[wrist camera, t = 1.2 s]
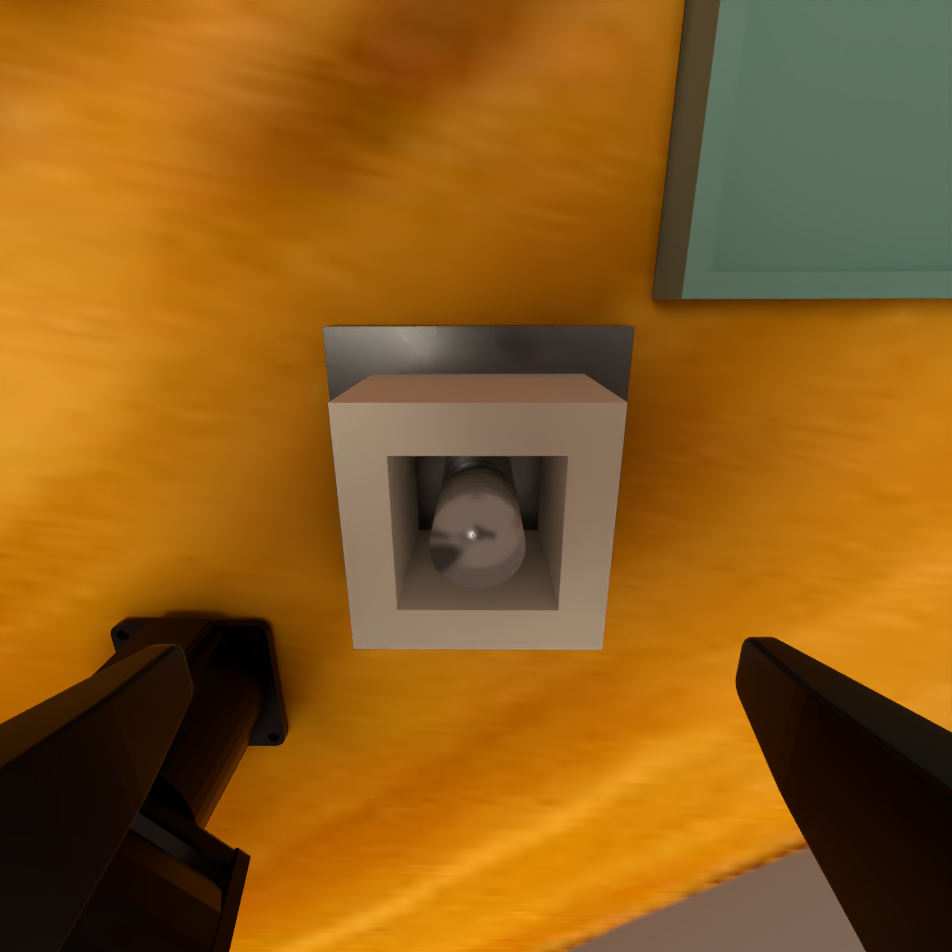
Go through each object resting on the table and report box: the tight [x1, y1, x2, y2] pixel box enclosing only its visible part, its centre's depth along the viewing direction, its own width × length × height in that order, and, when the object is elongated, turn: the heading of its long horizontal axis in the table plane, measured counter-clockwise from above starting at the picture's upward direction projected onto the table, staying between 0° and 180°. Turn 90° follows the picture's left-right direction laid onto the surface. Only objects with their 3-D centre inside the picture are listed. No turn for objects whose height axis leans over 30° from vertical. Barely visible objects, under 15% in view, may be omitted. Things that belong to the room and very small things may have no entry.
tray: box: [652, 0, 952, 300], centre depth 13 cm, size 12×12×2 cm
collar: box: [328, 374, 627, 650], centre depth 15 cm, size 7×7×5 cm
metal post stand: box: [323, 325, 635, 589], centre depth 15 cm, size 10×10×6 cm
